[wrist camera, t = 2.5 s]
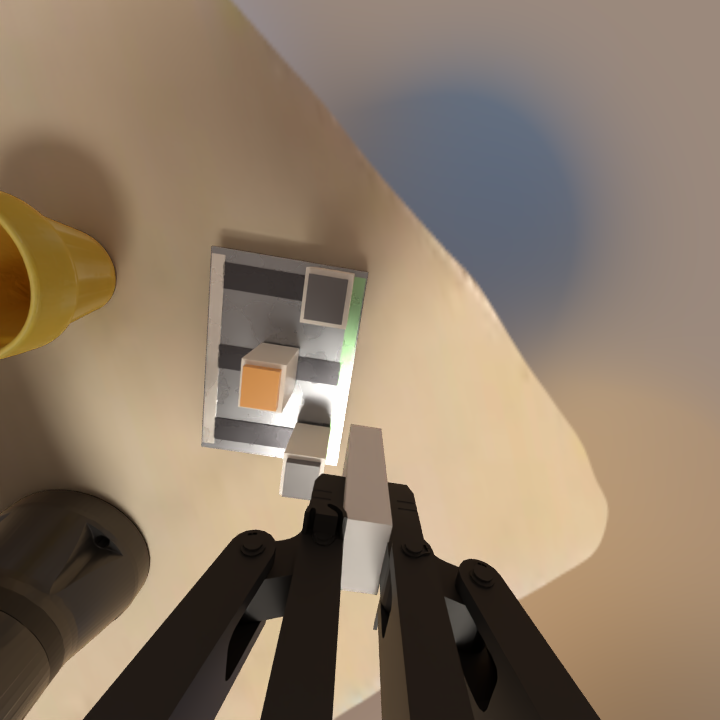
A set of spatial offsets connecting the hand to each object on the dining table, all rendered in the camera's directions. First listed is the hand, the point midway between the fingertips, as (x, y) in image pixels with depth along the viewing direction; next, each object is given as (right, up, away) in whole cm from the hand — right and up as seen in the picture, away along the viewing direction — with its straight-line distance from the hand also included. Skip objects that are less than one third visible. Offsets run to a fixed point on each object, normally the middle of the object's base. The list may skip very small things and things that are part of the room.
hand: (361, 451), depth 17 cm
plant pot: (-23, +12, +12) cm, 29 cm away
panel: (-7, +5, +13) cm, 16 cm away
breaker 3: (-4, -3, +13) cm, 14 cm away
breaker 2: (-2, +10, +10) cm, 14 cm away
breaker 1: (-7, +4, +11) cm, 14 cm away
